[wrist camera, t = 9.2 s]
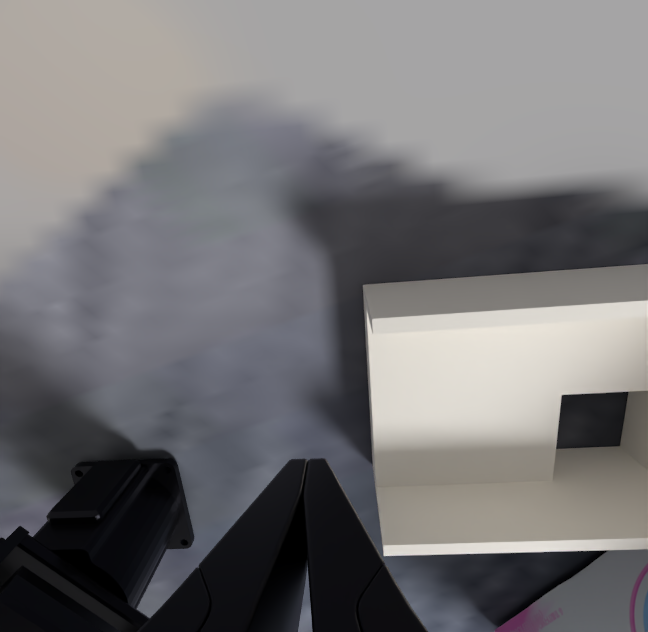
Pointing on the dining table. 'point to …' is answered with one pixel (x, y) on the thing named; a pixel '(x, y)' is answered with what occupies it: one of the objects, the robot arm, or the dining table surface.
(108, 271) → the dining table surface
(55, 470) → the dining table surface
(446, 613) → the dining table surface
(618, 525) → the channel
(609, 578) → the gum box
